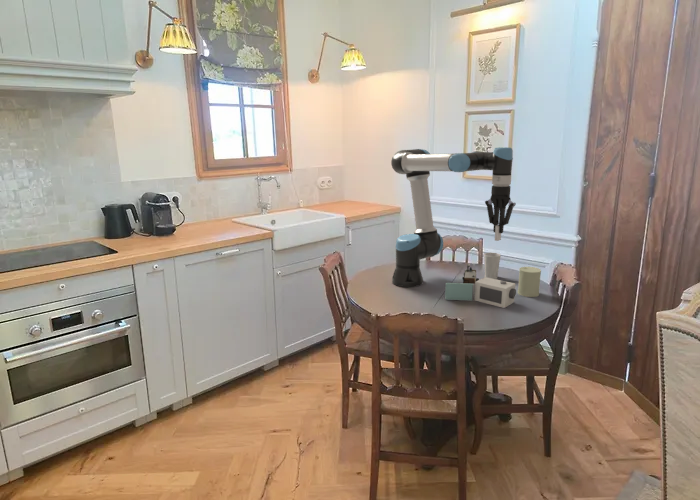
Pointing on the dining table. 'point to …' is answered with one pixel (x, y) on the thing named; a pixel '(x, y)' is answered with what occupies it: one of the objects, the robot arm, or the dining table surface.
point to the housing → (494, 292)
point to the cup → (491, 265)
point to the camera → (469, 275)
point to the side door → (460, 291)
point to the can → (529, 281)
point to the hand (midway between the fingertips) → (497, 240)
